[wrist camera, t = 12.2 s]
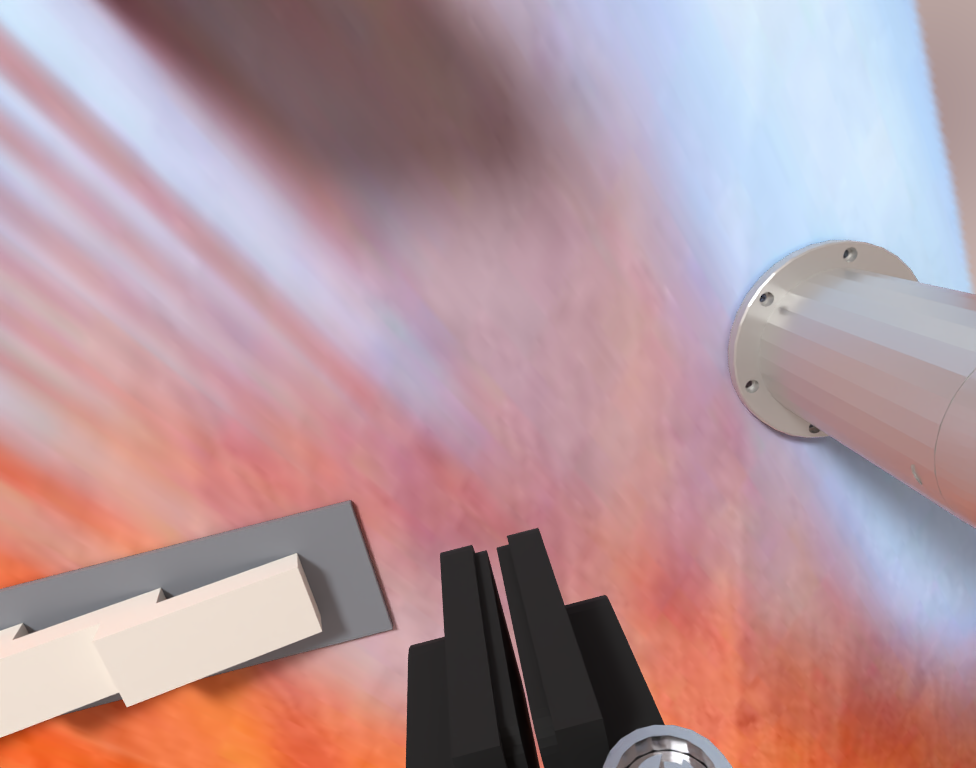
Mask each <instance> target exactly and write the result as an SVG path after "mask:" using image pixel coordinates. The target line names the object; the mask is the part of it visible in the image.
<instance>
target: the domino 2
mask: <svg viewBox="0 0 976 768" xmlns="http://www.w3.org/2000/svg"><path fill="white" fill-rule="evenodd" d="M320 632H322V624H321V615H320V612H319V610H318V607H317V604H316V602H315V599H314V597H313V594H312V591H311V589H310V586H309V583H308V581H307V578H306V575H305V573H304V570H303V568H302V565H301V562H300V560H299V557H298V554H297V553H295V554H292V555H290V556H287V557H284V558H281V559H278V560H276V561H273V562H270V563H267V564H265V565H262V566H259V567H256V568H253V569H251V570H248V571H245V572H242V573H239V574H237V575H234V576H231V577H228V578H225V579H223V580H220V581H217V582H214V583H212V584H209V585H206V586H203V587H200V588H198V589H195V590H192V591H189V592H186V593H184V594H181V595H178V596H175V597H172V598H170V599H167V600H164V601H161V602H158V603H156V604H153V605H150V606H147V607H145V608H142V609H139V610H136V611H133V612H131V613H128V614H125V615H122V616H119V617H117V618H114V619H111V620H108V621H105V622H103V623H100V625H99V627H98V630H97V632H96V634H95V637H94V639H93V641H92V642H93V644H94V646H95V648H96V650H97V652H98V653H99V655H100V657H101V659H102V661H103V663H104V665H105V667H106V669H107V670H108V672H109V674H110V676H111V678H112V680H113V682H114V684H115V686H116V688H117V689H118V691H119V693H120V695H121V697H122V699H123V701H124V703H125V705H126V707H129V706H132V705H134V704H137V703H139V702H142V701H144V700H147V699H150V698H152V697H155V696H157V695H160V694H162V693H165V692H168V691H170V690H173V689H175V688H178V687H181V686H183V685H186V684H188V683H191V682H193V681H196V680H199V679H201V678H204V677H206V676H209V675H211V674H214V673H217V672H219V671H222V670H224V669H227V668H230V667H232V666H235V665H237V664H240V663H242V662H245V661H248V660H250V659H253V658H255V657H258V656H260V655H263V654H266V653H268V652H271V651H273V650H276V649H279V648H281V647H284V646H286V645H289V644H291V643H294V642H297V641H299V640H302V639H304V638H307V637H309V636H312V635H315V634H317V633H320Z"/></svg>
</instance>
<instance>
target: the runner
mask: <svg viewBox="0 0 976 768" xmlns="http://www.w3.org/2000/svg"><path fill="white" fill-rule="evenodd" d="M295 553H297V554H298V557H299V560H300V562H301V565H302V568H303V570H304V573H305V575H306V578H307V581H308V583H309V586H310V589H311V591H312V594H313V597H314V599H315V602H316V604H317V607H318V610H319V612H320V615H321V624H322V632H320V633H317V634H315V635H312V636H309V637H307V638H304V639H302V640H299V641H297V642H294V643H291V644H289V645H286V646H284V647H281V648H279V649H276V650H273V651H271V652H268V653H266V654H263V655H260V656H258V657H255V658H253V659H250V660H248V661H245V662H242V663H240V664H237V665H235V666H232V667H230V668H227V669H224V670H222V671H219V672H217V673H214V674H211V675H209V676H206V677H210V676H214V675H218V674H222V673H226V672H229V671H233V670H237V669H241V668H245V667H249V666H253V665H256V664H260V663H264V662H268V661H272V660H276V659H280V658H283V657H287V656H291V655H295V654H299V653H303V652H307V651H310V650H314V649H318V648H322V647H326V646H330V645H334V644H337V643H341V642H345V641H349V640H353V639H357V638H360V637H364V636H368V635H372V634H376V633H380V632H384V631H387V630H391V629H393V624H392V621H391V619H390V616H389V613H388V610H387V607H386V604H385V601H384V598H383V595H382V592H381V589H380V586H379V583H378V580H377V577H376V574H375V571H374V568H373V565H372V562H371V559H370V556H369V553H368V550H367V547H366V544H365V541H364V538H363V535H362V532H361V529H360V526H359V523H358V520H357V518H356V515H355V512H354V509H353V506H352V503H351V500H349V501H345V502H341V503H337V504H333V505H330V506H326V507H322V508H318V509H314V510H310V511H306V512H302V513H298V514H294V515H290V516H286V517H282V518H278V519H274V520H270V521H267V522H263V523H259V524H255V525H251V526H247V527H243V528H239V529H235V530H231V531H227V532H223V533H219V534H215V535H211V536H207V537H204V538H200V539H196V540H192V541H188V542H184V543H180V544H176V545H172V546H168V547H164V548H160V549H156V550H152V551H148V552H144V553H141V554H137V555H133V556H129V557H125V558H121V559H117V560H113V561H109V562H105V563H101V564H97V565H93V566H89V567H85V568H81V569H78V570H74V571H70V572H66V573H62V574H58V575H54V576H50V577H46V578H42V579H38V580H34V581H30V582H26V583H22V584H18V585H15V586H11V587H7V588H3V589H0V631H1V630H4V629H7V628H10V627H13V626H15V625H18V624H21V623H23V624H24V626H25V628H26V629H27V631H28V633H29V634H31V633H34V632H37V631H40V630H43V629H45V628H48V627H51V626H54V625H57V624H59V623H62V622H65V621H68V620H71V619H74V618H76V617H79V616H82V615H85V614H88V613H91V612H93V611H96V610H99V609H102V608H105V607H108V606H110V605H113V604H116V603H119V602H122V601H125V600H127V599H130V598H133V597H136V596H139V595H142V594H144V593H147V592H150V591H153V590H156V589H158V588H161V589H162V591H163V593H164V595H165V597H166V600H167V599H170V598H172V597H175V596H178V595H181V594H184V593H186V592H189V591H192V590H195V589H198V588H200V587H203V586H206V585H209V584H212V583H214V582H217V581H220V580H223V579H225V578H228V577H231V576H234V575H237V574H239V573H242V572H245V571H248V570H251V569H253V568H256V567H259V566H262V565H265V564H267V563H270V562H273V561H276V560H278V559H281V558H284V557H287V556H290V555H292V554H295ZM206 677H204V678H206ZM201 679H202V678H201ZM121 699H122V697H121V695H120V693H116V694H113V695H111V696H108V697H106V698H103V699H100V700H98V701H95V702H93V703H90V704H87V705H85V706H82V707H79V708H77V709H74V710H72V711H69V712H66V713H64V714H68V713H71V712H75V711H79V710H83V709H87V708H91V707H95V706H98V705H102V704H106V703H110V702H114V701H118V700H121ZM64 714H61V715H64ZM58 716H60V715H58Z"/></svg>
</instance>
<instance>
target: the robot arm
mask: <svg viewBox="0 0 976 768" xmlns="http://www.w3.org/2000/svg"><path fill="white" fill-rule="evenodd" d="M843 254H844V255H843ZM762 294H763V297H762V299H761V300H760V297H761V295H762ZM728 367H729V372H730V376H731V380H732V384H733V386H734V388H735V390H736V392H737V394H738V396H739V398H740V400H741V401H742V402H743V404H744V405H745V406H746V407H747V409H748V410H749V411H750V412H751V413H752V414H753V415H755V416H756V417H757V418H758V419H760V420H761V421H762V422H764V423H765V424H767V425H768V426H770V427H772V428H773V429H775V430H777V431H780V432H783V433H785V434H788V435H791V436H798V437H805V438H817V437H828V436H831V437H832V438H834V439H835V440H837V441H838V442H840V443H841V444H843V445H845V446H846V447H848V448H849V449H851V450H852V451H854V452H856V453H857V454H859V455H860V456H862V457H863V458H865V459H866V460H868V461H870V462H871V463H873V464H874V465H876V466H877V467H879V468H881V469H882V470H884V471H885V472H887V473H888V474H890V475H891V476H893V477H895V478H896V479H898V480H899V481H901V482H902V483H904V484H906V485H907V486H909V487H910V488H912V489H913V490H915V491H916V492H918V493H920V494H921V495H923V496H924V497H926V498H927V499H929V500H931V501H932V502H934V503H935V504H937V505H938V506H940V507H941V508H943V509H945V510H946V511H948V512H949V513H951V514H952V515H954V516H955V517H957V518H959V519H960V520H962V521H963V522H965V523H967V524H969V525H970V526H972V527H973V528H975V529H976V295H975V294H970V293H966V292H961V291H956V290H952V289H947V288H943V287H938V286H933V285H929V284H924V283H920V282H919V281H918V280H917V278H916V277H915V275H914V274H913V272H912V270H911V269H910V268H909V267H908V266H907V265H906V264H905V263H904V262H903V261H902V260H901V259H900V258H899V257H898V256H896V255H894V254H893V253H891V252H889V251H888V250H886V249H884V248H882V247H879V246H875V245H872V244H869V243H866V242H859V241H852V240H829V241H825V242H820V243H816V244H811V245H809V246H806V247H804V248H802V249H799V250H797V251H795V252H792V253H791V254H789V255H788V256H786V257H785V258H783V259H781V260H780V261H778V262H777V263H775V264H774V265H773V266H772V267H771V268H770V269H769V270H768V271H766V272H765V273H764V274H763V275H762V276H761V277H760V278H759V279H758V280H757V282H756V283H755V284H754V286H753V287H752V288H751V289H750V291H749V292H748V293H747V295H746V296H745V298H744V300H743V302H742V304H741V306H740V307H739V309H738V311H737V314H736V316H735V319H734V322H733V325H732V328H731V332H730V338H729V345H728ZM747 382H748V384H747ZM746 384H747V385H746ZM507 538H508V542H509V545H505V546H501V547H498V548H497V552H498V557H499V562H500V567H501V571H502V576H503V581H504V586H505V591H506V595H507V600H508V605H509V610H510V615H511V619H512V624H513V629H514V634H515V639H516V643H517V648H518V653H519V658H520V663H521V667H522V672H523V677H524V682H525V687H526V691H527V696H528V701H529V706H530V711H531V715H532V720H533V724H534V729H535V733H536V737H537V741H538V746H539V750H540V753H541V757H542V761H543V765H544V768H733V767H732V766H731V765H730V763H729V762H728V761H727V759H726V758H725V756H724V755H723V754H722V753H721V752H720V751H719V750H718V749H717V748H716V747H715V746H714V745H713V744H712V743H711V742H710V741H709V740H708V739H706V738H705V737H703V736H701V735H699V734H698V733H696V732H694V731H693V730H689V729H686V728H682V727H678V726H675V725H665V724H664V722H663V720H662V718H661V715H660V713H659V711H658V709H657V706H656V704H655V702H654V700H653V697H652V695H651V693H650V691H649V689H648V686H647V684H646V682H645V680H644V677H643V675H642V673H641V671H640V668H639V666H638V664H637V662H636V659H635V657H634V655H633V653H632V650H631V648H630V646H629V644H628V641H627V639H626V637H625V635H624V632H623V630H622V628H621V626H620V623H619V621H618V619H617V617H616V615H615V612H614V610H613V608H612V606H611V603H610V601H609V599H608V597H607V596H606V595H603V596H599V597H596V598H592V599H588V600H584V601H580V602H576V603H573V604H569V605H564V602H563V599H562V596H561V593H560V590H559V587H558V585H557V582H556V579H555V576H554V573H553V570H552V567H551V564H550V561H549V558H548V555H547V552H546V549H545V546H544V543H543V540H542V537H541V534H540V531H539V529H538V528H536V529H532V530H528V531H524V532H520V533H516V534H513V535H509V536H507ZM440 563H441V580H442V598H443V616H444V633H445V637H442V638H438V639H434V640H430V641H426V642H423V643H419V644H415V645H411V646H410V648H409V654H408V692H407V740H406V768H540V766H539V762H538V757H537V752H536V747H535V742H534V737H533V732H532V727H531V722H530V717H529V713H528V708H527V703H526V698H525V693H524V689H523V685H522V681H521V677H520V673H519V669H518V665H517V662H516V658H515V654H514V650H513V647H512V643H511V639H510V635H509V632H508V628H507V624H506V620H505V617H504V613H503V609H502V605H501V602H500V598H499V594H498V590H497V587H496V583H495V579H494V575H493V572H492V568H491V564H490V560H489V557H488V553H487V550H486V551H482V552H478V553H475V552H474V548H473V546H472V545H470V546H466V547H462V548H458V549H454V550H450V551H446V552H443V553H440Z"/></svg>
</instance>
